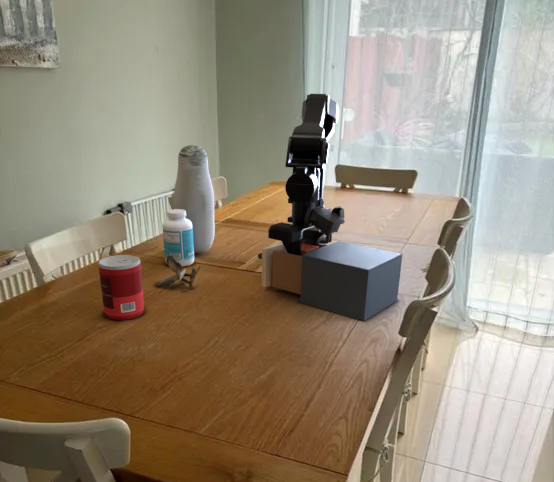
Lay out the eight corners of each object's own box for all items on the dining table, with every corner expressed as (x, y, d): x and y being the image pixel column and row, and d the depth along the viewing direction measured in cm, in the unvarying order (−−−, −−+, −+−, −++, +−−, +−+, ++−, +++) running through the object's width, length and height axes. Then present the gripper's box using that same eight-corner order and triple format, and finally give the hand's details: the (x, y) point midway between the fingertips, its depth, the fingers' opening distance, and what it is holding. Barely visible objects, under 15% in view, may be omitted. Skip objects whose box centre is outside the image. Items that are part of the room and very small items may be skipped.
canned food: (151, 308, 113) (147, 257, 108) (130, 323, 106) (124, 268, 101) (119, 303, 115) (114, 252, 110) (96, 317, 108) (89, 263, 104)
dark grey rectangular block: (300, 302, 117) (302, 254, 113) (336, 284, 128) (339, 240, 124) (364, 321, 109) (368, 270, 105) (397, 300, 120) (402, 253, 115)
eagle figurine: (203, 276, 128) (169, 265, 130) (199, 257, 122) (163, 245, 124) (188, 301, 125) (153, 289, 126) (184, 283, 119) (147, 271, 120)
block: (287, 268, 123) (287, 247, 121) (300, 263, 127) (301, 242, 125) (305, 273, 120) (306, 251, 118) (318, 268, 124) (319, 246, 122)
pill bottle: (189, 257, 146) (187, 206, 140) (198, 265, 140) (195, 212, 134) (161, 261, 143) (158, 209, 137) (169, 269, 137) (165, 215, 131)
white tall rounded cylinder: (170, 252, 150) (163, 145, 138) (198, 245, 157) (193, 142, 146) (195, 259, 144) (189, 148, 133) (222, 251, 151) (220, 145, 140)
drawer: (247, 282, 126) (247, 244, 122) (282, 268, 136) (283, 233, 132) (314, 301, 116) (316, 261, 112) (347, 285, 125) (350, 247, 122)
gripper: (312, 205, 105) (308, 282, 112) (360, 192, 119) (355, 261, 125) (266, 197, 112) (266, 271, 118) (317, 186, 125) (314, 252, 131)
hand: (302, 264), depth 123 cm, fingers closed on block, 5 cm apart
